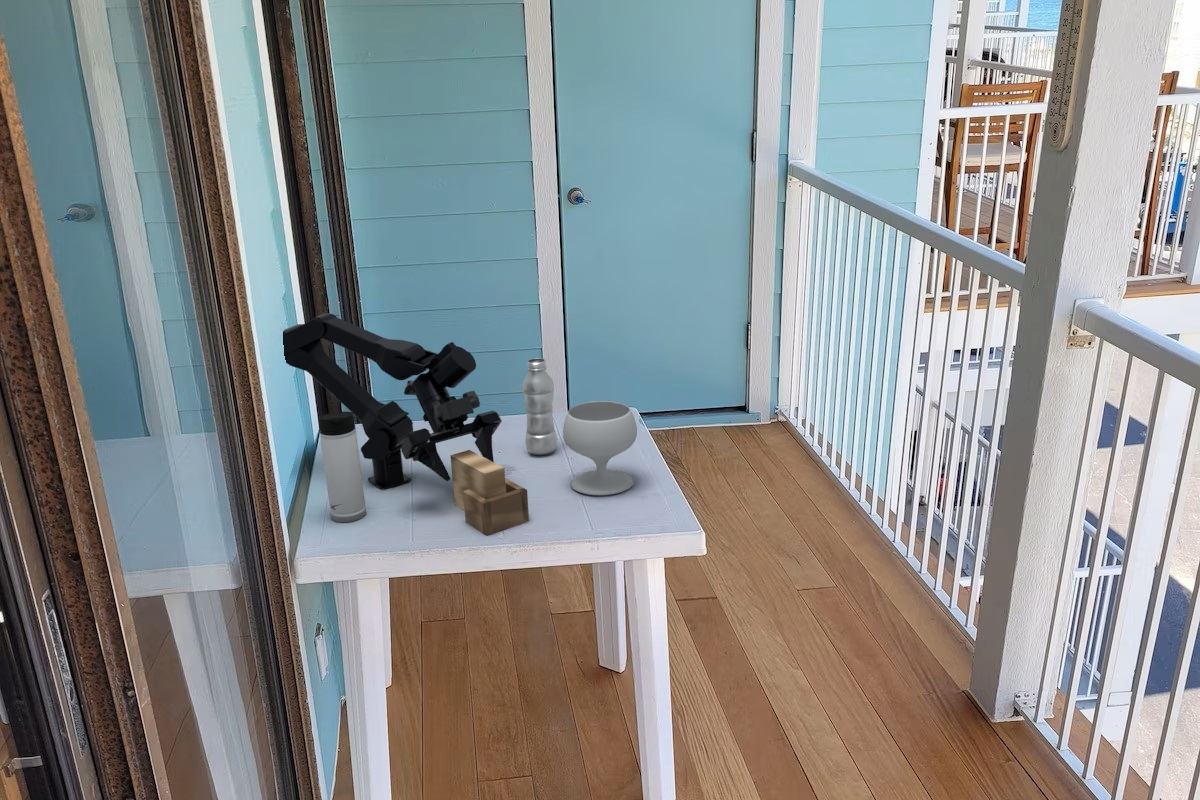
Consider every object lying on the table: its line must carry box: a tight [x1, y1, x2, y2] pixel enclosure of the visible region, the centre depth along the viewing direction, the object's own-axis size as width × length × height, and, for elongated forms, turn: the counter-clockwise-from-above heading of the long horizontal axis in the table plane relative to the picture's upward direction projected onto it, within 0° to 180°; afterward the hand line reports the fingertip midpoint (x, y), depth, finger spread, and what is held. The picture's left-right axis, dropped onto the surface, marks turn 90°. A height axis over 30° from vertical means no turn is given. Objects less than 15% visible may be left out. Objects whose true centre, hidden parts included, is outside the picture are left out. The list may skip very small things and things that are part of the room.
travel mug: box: [317, 411, 367, 523], centre depth 179 cm, size 6×7×20 cm
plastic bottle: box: [522, 357, 558, 456], centre depth 206 cm, size 6×7×20 cm
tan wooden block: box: [450, 449, 506, 512], centre depth 180 cm, size 12×4×10 cm, turn 38°
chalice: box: [562, 400, 638, 496], centre depth 189 cm, size 14×14×15 cm
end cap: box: [463, 477, 530, 536], centre depth 177 cm, size 7×9×6 cm
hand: (470, 473), depth 182 cm, fingers open, 9 cm apart
